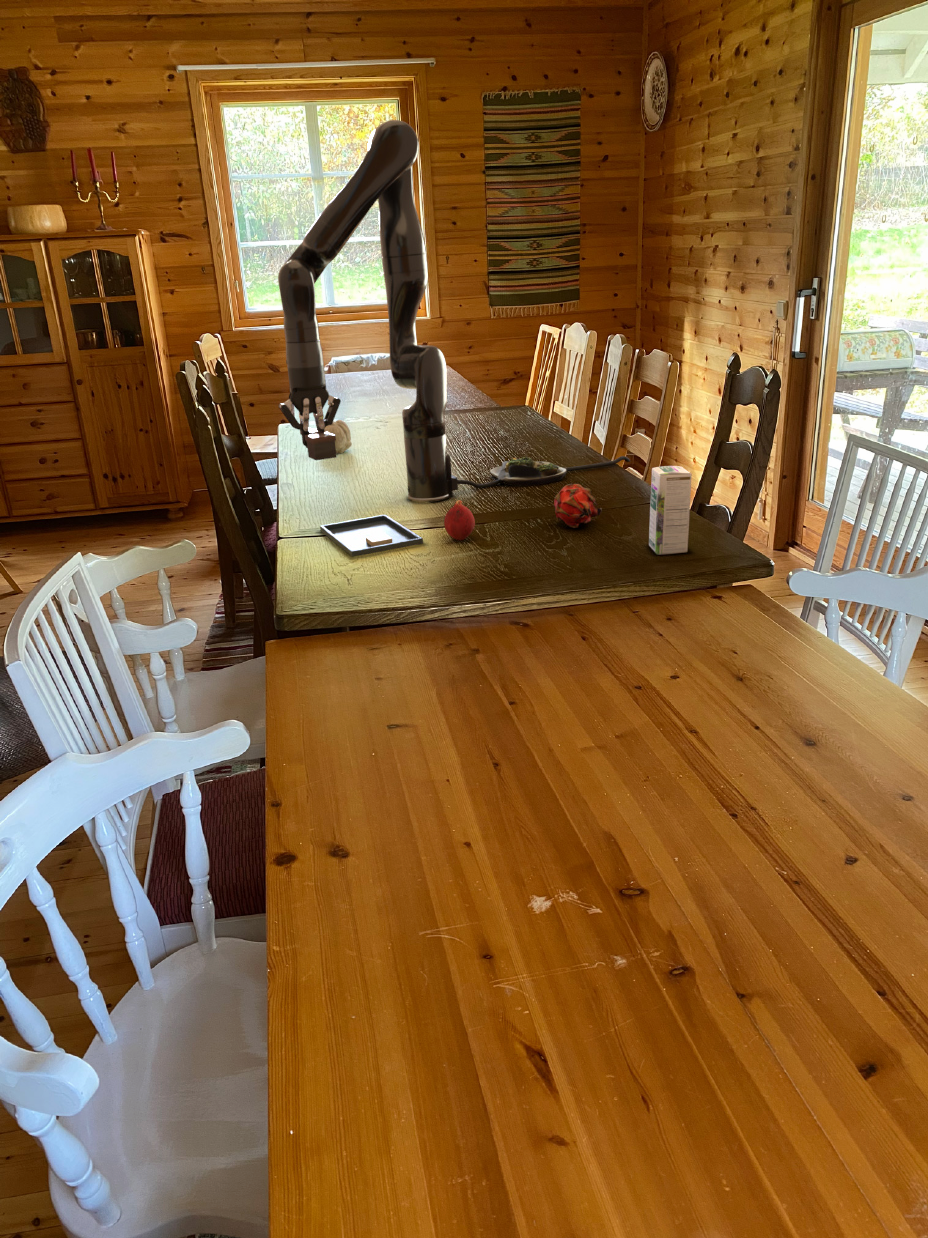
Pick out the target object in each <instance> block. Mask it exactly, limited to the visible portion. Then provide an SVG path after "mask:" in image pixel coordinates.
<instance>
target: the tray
mask: <svg viewBox="0 0 928 1238" xmlns="http://www.w3.org/2000/svg"><path fill="white" fill-rule="evenodd" d="M319 529H320V532H321V533H323V534H324V535H325V536H326V537H327V538H328V539H330V540H331V541H332V542H333V543H335V544H336V545H337V546H338V547H340V548H341V549H342V550H343V551H344V552H346V553H347V554H348V555H349V556H350V557H352V558H355V557H359V556H364V555H365V556H366V555H371V554H376V553H381V552H385V551H391V550H392V551H393V550H397V549H403V548H408V547H413V546H417V545H423V544H424V538H423V537H422V536H420V535H418V534H417V533H415V532H414V531H412V530H410V529H409V528H408V527H406V526H405V525H403V524H401V523H399V522H398V521H396V520H395V519H393V518H392V517H390V516H389V515H387V514H380V515H374V516H369V517H363V518H356V519H351V520H344V521H340V522H334V523H328V524H323V525H320V526H319ZM379 534H386V535H388V536H389V537H391V538H392V543H390V544H384V545H379V546H374V547H372V546H371V545H370V544H368V543H367V542H366V537H368V536H374V535H379Z"/></svg>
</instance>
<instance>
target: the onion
mask: <svg viewBox="0 0 928 1238" xmlns="http://www.w3.org/2000/svg"><path fill="white" fill-rule="evenodd" d="M475 521H476V519H475V517H474V515H473V512H472V511H471V510H470V509H469V508H468V507H467V506H465V505H463V501H462V500H460V499H458V500H456V501H455V503H454V505H453V506H452V507H451V508H449V509H448V511H447V512H446V514H445V516H444V522H443V524H444V529H445V531H446V533H447V534H448V535H449V537H451V538H452V539H454V540H455V541H457V542H459V541H460V542H461V541H464V540H465V539H467V538H468V537H469V536H470V535H471V534H472V532H473V531H474V529H475V526H476V522H475Z"/></svg>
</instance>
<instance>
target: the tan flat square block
mask: <svg viewBox="0 0 928 1238" xmlns="http://www.w3.org/2000/svg"><path fill="white" fill-rule="evenodd" d="M366 542H367V543H368V544H370V545H371V546H372V547H374V546H379V545H384V544H390V543H392V538H391V537H389V536H388V535H386V534H379V535H374V536H368V537H366Z"/></svg>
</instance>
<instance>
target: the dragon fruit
mask: <svg viewBox="0 0 928 1238" xmlns="http://www.w3.org/2000/svg"><path fill="white" fill-rule="evenodd" d="M592 493H593V492H592V490H591V488H589V487H583V486H582V485H581V484H579V483H569V484H566V485H564V486H563V487H562V488H561V489H560V491H559V492H558V493H557V494H556V495H555V496H554V500H553V501H554V502H553V508H555V511H554V514H555V515H554V516H555V518H556V521H557V522H558V523H560V522H564V523H565V524H566V525H567V526H568V527H569V528H573V529H579V528H580V527H579V525H580V524H586V525H587V524H589V523H590V522H591V521H592V518H595V517H598V516H600V515H601V514H602V511H603V510H602V507H599V508H598V506H599V505H598V503H597V500H596V498H595V496H594V495H592ZM596 506H597V507H596Z"/></svg>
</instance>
